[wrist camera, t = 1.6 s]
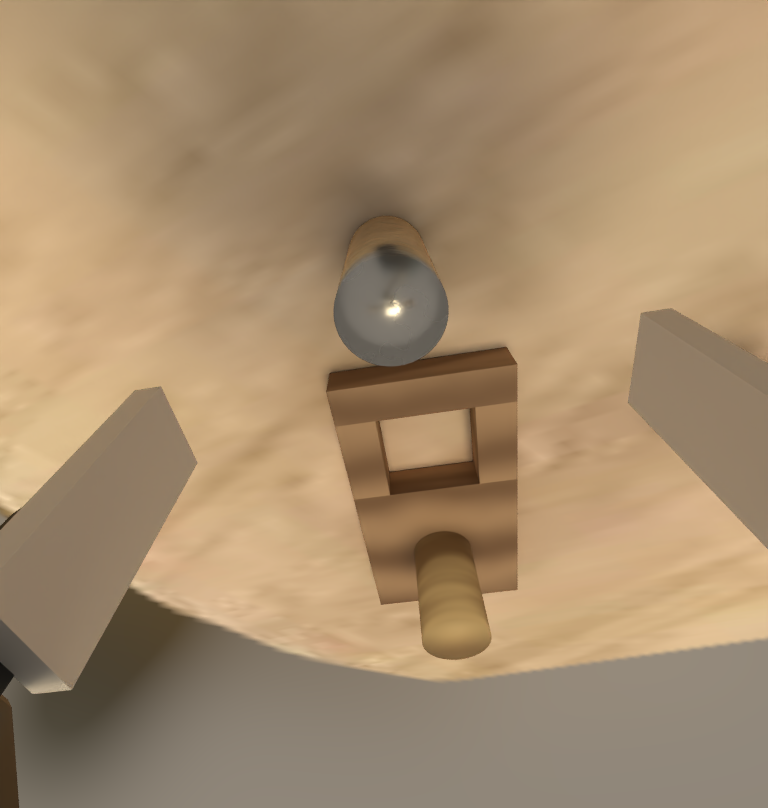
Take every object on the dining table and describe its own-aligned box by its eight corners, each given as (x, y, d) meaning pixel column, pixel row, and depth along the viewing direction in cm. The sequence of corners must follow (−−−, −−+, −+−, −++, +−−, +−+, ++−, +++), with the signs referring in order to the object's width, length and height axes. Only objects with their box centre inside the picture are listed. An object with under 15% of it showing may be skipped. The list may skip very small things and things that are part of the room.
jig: (330, 373, 30) (311, 466, 22) (506, 347, 29) (560, 433, 21) (381, 579, 41) (381, 694, 33) (509, 564, 41) (545, 679, 32)
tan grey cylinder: (340, 222, 25) (322, 266, 17) (420, 209, 25) (443, 246, 16) (355, 300, 28) (346, 373, 19) (429, 289, 27) (452, 358, 19)
